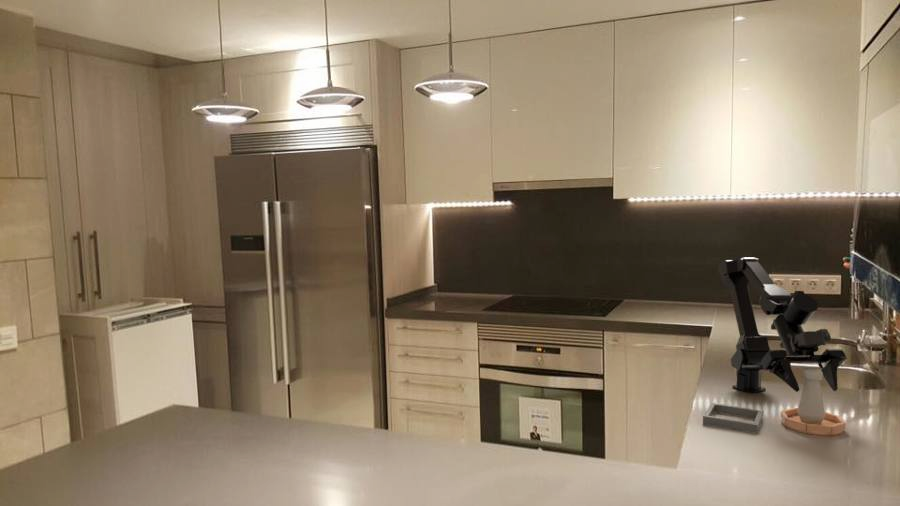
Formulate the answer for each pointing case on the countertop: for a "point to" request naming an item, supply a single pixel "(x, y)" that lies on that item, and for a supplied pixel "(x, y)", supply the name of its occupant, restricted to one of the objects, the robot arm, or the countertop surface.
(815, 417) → the salt shaker
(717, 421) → the charcoal tray
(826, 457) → the countertop surface
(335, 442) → the countertop surface
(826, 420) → the terracotta dish
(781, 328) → the robot arm
